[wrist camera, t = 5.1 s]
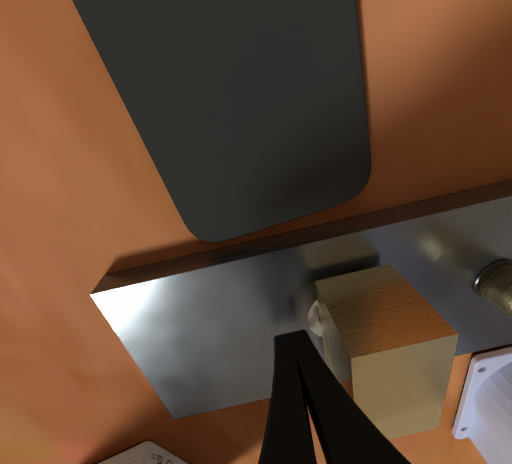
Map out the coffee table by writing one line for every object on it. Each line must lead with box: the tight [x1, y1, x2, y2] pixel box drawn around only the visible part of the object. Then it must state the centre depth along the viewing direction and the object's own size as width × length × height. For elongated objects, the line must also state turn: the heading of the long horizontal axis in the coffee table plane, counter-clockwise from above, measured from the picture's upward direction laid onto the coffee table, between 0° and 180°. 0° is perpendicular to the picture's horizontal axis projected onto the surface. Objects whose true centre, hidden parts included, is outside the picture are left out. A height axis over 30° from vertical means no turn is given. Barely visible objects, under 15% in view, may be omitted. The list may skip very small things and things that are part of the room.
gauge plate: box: [90, 180, 512, 419], centre depth 10 cm, size 9×19×6 cm, turn 102°
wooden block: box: [315, 264, 459, 439], centre depth 10 cm, size 5×3×3 cm, turn 12°
